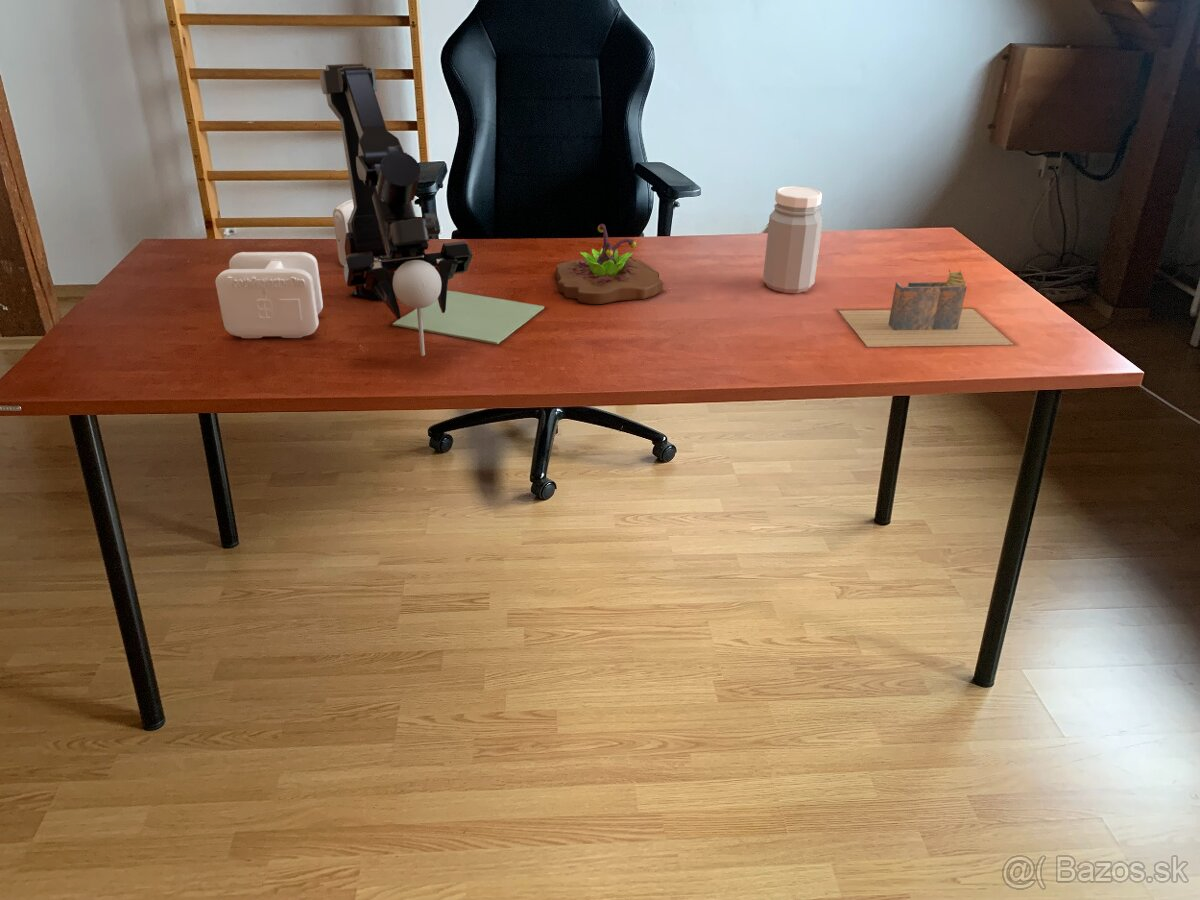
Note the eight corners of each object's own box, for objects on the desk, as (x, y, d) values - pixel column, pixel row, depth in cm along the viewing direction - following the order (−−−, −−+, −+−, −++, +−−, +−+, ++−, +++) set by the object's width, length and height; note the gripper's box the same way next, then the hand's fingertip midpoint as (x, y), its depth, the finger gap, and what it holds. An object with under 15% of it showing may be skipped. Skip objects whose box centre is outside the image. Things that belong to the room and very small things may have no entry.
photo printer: (349, 268, 185) (341, 206, 178) (335, 264, 187) (327, 202, 181) (390, 256, 192) (384, 195, 186) (376, 252, 194) (370, 192, 188)
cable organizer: (330, 316, 163) (321, 251, 157) (317, 340, 153) (308, 272, 148) (241, 317, 162) (229, 251, 156) (224, 341, 153) (210, 272, 147)
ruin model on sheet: (972, 308, 171) (984, 256, 166) (1013, 344, 157) (1027, 288, 152) (838, 310, 169) (846, 258, 164) (867, 346, 155) (876, 290, 150)
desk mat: (392, 325, 160) (392, 323, 159) (446, 292, 174) (446, 289, 174) (497, 344, 153) (497, 342, 153) (544, 308, 168) (544, 306, 168)
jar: (810, 297, 175) (822, 200, 166) (757, 290, 177) (767, 195, 168) (816, 280, 183) (829, 187, 174) (766, 274, 185) (776, 182, 176)
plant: (637, 264, 190) (639, 209, 184) (674, 296, 174) (677, 237, 168) (541, 273, 184) (540, 216, 179) (570, 307, 168) (570, 246, 162)
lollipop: (455, 350, 146) (449, 257, 139) (429, 368, 141) (421, 272, 133) (416, 342, 149) (409, 250, 141) (390, 358, 143) (380, 264, 136)
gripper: (338, 199, 133) (362, 300, 129) (465, 188, 139) (491, 283, 136) (334, 238, 143) (357, 332, 140) (453, 225, 149) (477, 315, 146)
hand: (421, 315), depth 140 cm, fingers closed on lollipop, 6 cm apart
